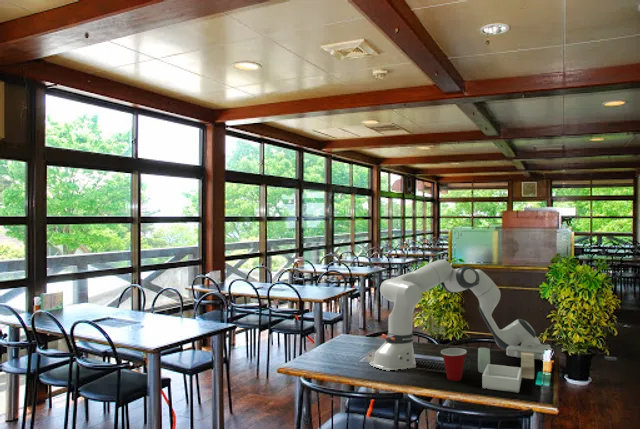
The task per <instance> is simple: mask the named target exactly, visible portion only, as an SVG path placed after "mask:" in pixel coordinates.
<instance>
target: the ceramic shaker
mask: <svg viewBox="0 0 640 429" xmlns="http://www.w3.org/2000/svg"><path fill="white" fill-rule="evenodd" d="M487 364H491V349H490V348H489V347H478V348H477V369H478V370H477V371H478V372H479V373H481V374H483V373H484V371H485V368H486V366H487Z"/></svg>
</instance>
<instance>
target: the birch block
mask: <svg viewBox="0 0 640 429" xmlns="http://www.w3.org/2000/svg"><path fill="white" fill-rule="evenodd" d="M520 368H521V373H522V379H527V380H528V379H530V380H534V379H535V359H534V353H533V352H523V351H522V352H521V357H520Z"/></svg>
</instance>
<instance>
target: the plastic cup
mask: <svg viewBox="0 0 640 429" xmlns="http://www.w3.org/2000/svg"><path fill="white" fill-rule="evenodd" d="M440 354H441V355H442V357H443V364H444V368H445V373H446V378H447V380H448V381H454V382H457V381H458V382H460V381H461V380H462V378H463V372H464V365H465V359H466V355H467V349H465V348H460V347H448V348H443V349H441V350H440Z"/></svg>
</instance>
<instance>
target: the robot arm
mask: <svg viewBox="0 0 640 429" xmlns="http://www.w3.org/2000/svg"><path fill="white" fill-rule="evenodd" d="M439 285H441V287H442V288H443V290H444V291H445V292H448V293H451V294H455V293H459V292H463V291H466V290H468V289H469V290H471V292H472V293H473V294H474V295H475V297H476V298H477V299H478V303H479V305H478V310H479V313H480V315H481V317H482V319H483V321H484V323H485V324H486V326H487V328H488V329H489V331H490V333H491V335H492V337H493V339H494V342H495V343H496V345H497V346H498V347H499V349H500V350H502V351H506V352H505V353H506V354H505V355H506V356H508V357H516V358H520V359H521V352H522V351H523V352H533V353H534V360H538V361H542V360H544V359H543V352H544V350H545V349H551V350H553V348H551V345H550V344H548V343H543V342H541V341H540V339H539V337H537V335H536V334H537V333H536V330H535V329H534V327H533V326H532V325H531V324H530V322H528V321H527V320H525V319H522V318H518V319H515V320H514V321H513V322H511V323H509V324H508V325H506V326H505V327H504V328H502V329H500V328H499V327H498V325H497V323H496V321H495V320H494V318H493V316H492V314H493V312H494V310H495V308H496V307H497V306H498V304H499V302H500V301H501V290H500V288H499V287H498V286H497V284H496V283H495V282H494V281H493V280H492V278H491V277H490V276H489V275H488V274H486V273H485V272H484V271H483V270H481V269H478V268H477V269H474V268H473V267H470V266H461V267H459V268H453V267H452V264H451V263H450V262H449V261H448V260H446V259H438V260H435V261H432V262H429V263H427V264H425V265H423V266H422V267H420V268H417V269H415V270H413V271H410V272H407V273H403V274H401V275H399V276H395V277H391V278H389V279H388V278H387V279H385V280H383V281H382V282H381V284H380V288H379V292H380V294H381V296H382V297H383V298H384V299H385V300H386V301H388V302H391V303H392V302H393V307H392V311H391V312H390V314H388V320H387V321H388V324H387V326H388V327H387V328H388V332H387V334H384V333H382V334H381V339H384V340H385V341H384V343H382V345H381V346H379V348H378V349H377V350H376V351H375V353H374V360H372V361H370V362H369V364H370V365H371V366H373V367H372V368H374V367H376V368H379V369H382V370H381V371H383V370H386V371H385V372H391V371H390V370H395V371H399V370H398V369H401V370H406V369H407V368H408V369H414V368H416V367H417V365H416V364H417V362H416V358H415V352H414V350H415V349H414V346H413V342H414V333H413V315H414V313H415V312H414V311H415V308H416V306H417V304H419V303H420V301H421V299H422V296H423V295H422V293H426V292H428V291H429V290H432V289H434V288H435V287H437V286H439ZM520 343H521V344H520ZM519 344H520V345H519ZM370 365H369V366H370ZM371 366H370V367H371ZM376 368H375V369H376ZM379 369H378V370H379Z"/></svg>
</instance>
